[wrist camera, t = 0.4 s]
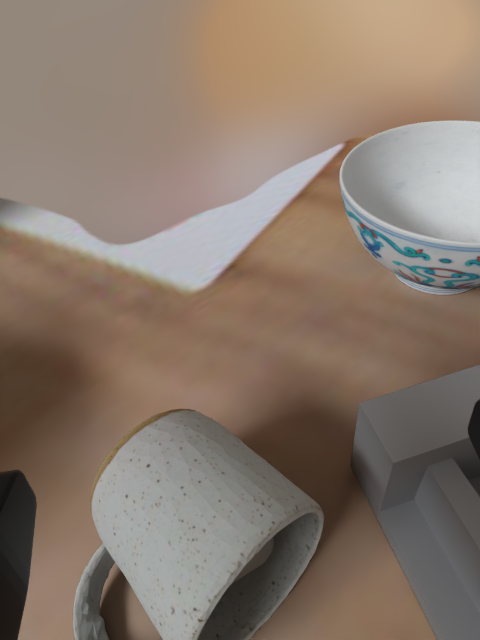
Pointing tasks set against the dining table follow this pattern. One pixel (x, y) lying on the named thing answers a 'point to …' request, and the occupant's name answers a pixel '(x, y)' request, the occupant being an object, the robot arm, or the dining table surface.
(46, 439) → the dining table surface
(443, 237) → the chinaware
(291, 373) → the dining table surface
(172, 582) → the ceramic mug
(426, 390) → the mount
